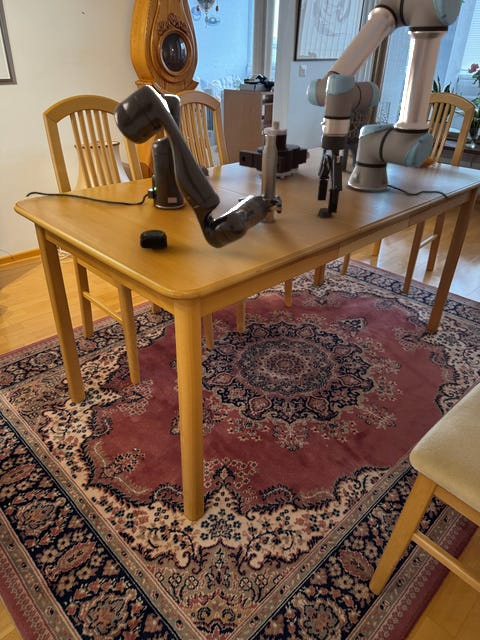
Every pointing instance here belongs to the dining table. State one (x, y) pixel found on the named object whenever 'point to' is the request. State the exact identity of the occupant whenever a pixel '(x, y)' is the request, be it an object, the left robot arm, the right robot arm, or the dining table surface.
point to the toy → (427, 162)
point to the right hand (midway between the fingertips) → (326, 206)
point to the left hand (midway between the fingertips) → (270, 197)
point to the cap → (324, 213)
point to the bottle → (269, 172)
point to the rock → (204, 170)
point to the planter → (355, 134)
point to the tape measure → (153, 239)
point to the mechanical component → (286, 153)
